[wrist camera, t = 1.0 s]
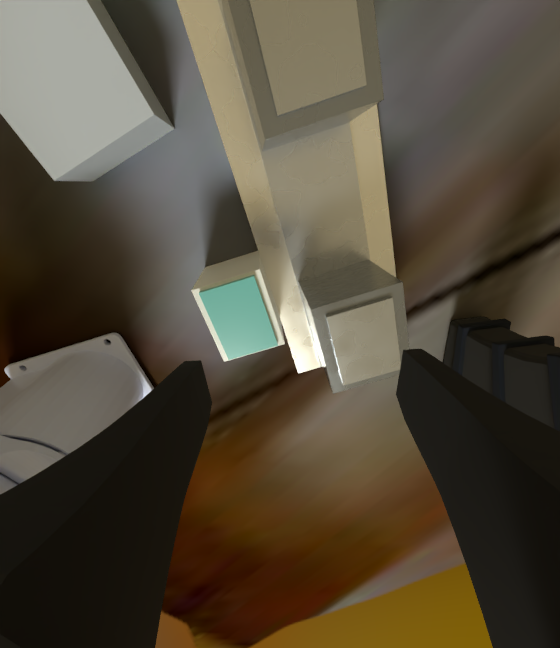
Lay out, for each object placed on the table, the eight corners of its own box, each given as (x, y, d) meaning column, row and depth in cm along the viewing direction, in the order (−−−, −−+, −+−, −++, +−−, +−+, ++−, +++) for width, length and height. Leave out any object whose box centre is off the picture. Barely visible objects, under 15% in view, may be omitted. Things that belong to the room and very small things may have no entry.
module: (230, 326, 23) (223, 364, 18) (205, 267, 21) (190, 292, 16) (278, 311, 22) (285, 346, 18) (258, 250, 20) (259, 270, 16)
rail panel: (297, 367, 25) (310, 427, 19) (173, -13, 14) (113, -157, 8) (399, 338, 24) (447, 389, 18) (349, -79, 14) (423, -285, 8)
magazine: (432, 453, 29) (611, 598, 14) (417, 321, 28) (581, 320, 13) (469, 448, 29) (687, 586, 14) (455, 316, 29) (658, 311, 14)
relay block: (94, 181, 18) (54, 180, 14) (11, 69, 15) (-63, 34, 12) (175, 129, 17) (154, 114, 13) (102, 1, 14) (52, -59, 11)
